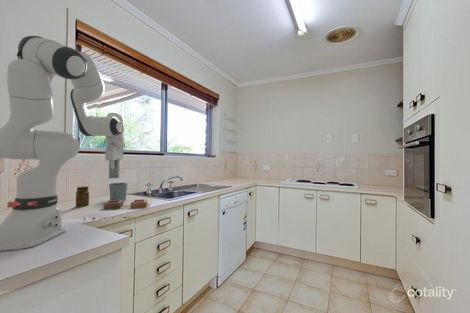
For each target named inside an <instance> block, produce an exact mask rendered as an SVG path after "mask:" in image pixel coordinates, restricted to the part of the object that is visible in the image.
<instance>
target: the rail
mask: <svg viewBox="0 0 470 313" xmlns="http://www.w3.org/2000/svg"><path fill="white" fill-rule="evenodd" d="M150 206H151V203H148V199H146V198H145V199H143V198H142V199H133V200H132V201H131V202H130V203H129V204H128V203H127V204H126V203H124V201H123V200H110V199H109V200H107V201H105V202H104V203H103V207H101V208H100V209H99V211H113V210H115V211H116V210H117V211H118V210H136V209H139V210H140V209H149V208H150Z"/></svg>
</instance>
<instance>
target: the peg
mask: <svg viewBox="0 0 470 313" xmlns="http://www.w3.org/2000/svg"><path fill="white" fill-rule="evenodd" d="M108 161H109V163H108V166H109V167H108V179H119V178H120V161H121V160H120V158H117V160H115V169H111V165H110V160H108Z"/></svg>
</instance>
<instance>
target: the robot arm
mask: <svg viewBox="0 0 470 313" xmlns="http://www.w3.org/2000/svg"><path fill="white" fill-rule="evenodd" d="M16 57H17V59H14V60H12V61H10V62H9V64H8V66H7V72H6V76H7V77H6V83H7V92H8V98H9V100H8V101H9V106H10V111H9V112H10V115H9V119H8V120H7V122H6V123H5V125H4V126H2V127H0V158H2V159H9V160H10V159H11V160H37V161H39V162H38V164H37V166H35V167H33V168H30V169H27V170H25V171H23V172H21V173H20V174H19V175H18V176H17V179H16V197H15V198H14V199H13V201H8V202H7V203H6V207H7V208H8V209H9V208H11V209H12V210H11V211H10V213H8V215H7V216H6V217H5V218H4V220H2V222H0V251H2V252H3V251H13V250H14V251H15V250H22V249H27V248H33V247H37V246H38V245H40V244H43V243H45V242H47V241H48V240H51V239H53V238H54V237H57V236H59V235H61V234H63V233H66V231H67V230H66V228H65V227H63V222H62V221H63V219H62V211H61V209H60V208H59V207H58V205H57V204H58V194H57V183H58V182H57V181H58V175H59V174H60V170H61V169H62V168H63V166H64V165H65V164H66V163H67V162H69V161H70V160H71V159H74V158H75V157H76V156H77V155H78V154H79V152H80V149H81V144H80V141H79V139H78V137H76V135H74V134H71V133H66V132H62V131H52V130H51V131H50V130H38V129H35V127H36V126H39V125H43V124H45V123H49V122H50V121H51V120H52V119H53V117H54V116H55V115H54V114H55V112H54V99H53V88H52V86H51V85H52V80H53V79H54V77H55V76H58V77H61V78H62V79H66V80H70V82H71V83H72V86H73V88H72V89H71V91H70V101H71V105H72V108H73V111H74V113H75V118H76V120H77V127H78V130H79V132H80V133H81V134H82V135H83V136H85V137H96V136H97V137H103V136H104V137H105V152H104V154H105V158H104V159H105V161H109V160H110V165H111V169H115V160H117V158H120V160H119V161H122V160H123V158H124V148H125V146H126V145H125V137H124V133H125V121H124V116H123V115H122V114H120V113H117V112H108V114H106V115H107V116H94V115H90V114H89V112H88V108H87V105H86V104H88V103H91V102H95V101H97V100H98V99H100V98H101V97H102V96H103V94H104V93H105V89H106V88H105V83H104V81H103V78H102V75H101V73H100V71H99V69H98V67H97V65H96V64H95V62H94V60H93V59H92V57H91V56H90V55H89V54H87V53H86V52H84V51H83V52H82V51H77V49H75V48H72V47H69V46H67V45H65V44H63V43H60V42H58V41H56V40H53V39H49V38H44V37H42V36H37V35H27V36H25V37H23V38H22V39H21V40H20V41H19V44H18V47H17V53H16Z"/></svg>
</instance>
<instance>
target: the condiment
mask: <svg viewBox="0 0 470 313" xmlns="http://www.w3.org/2000/svg"><path fill="white" fill-rule="evenodd" d="M89 205H90V191H89V186H85V185H84V186H78V187H76V192H75V207H77V208H83V207H88V206H89Z"/></svg>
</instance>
